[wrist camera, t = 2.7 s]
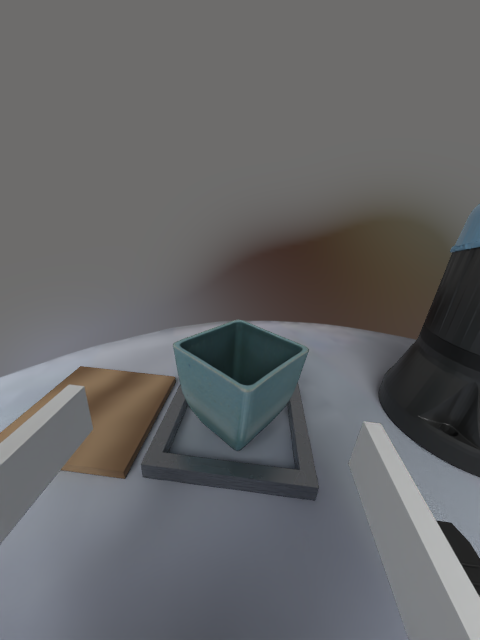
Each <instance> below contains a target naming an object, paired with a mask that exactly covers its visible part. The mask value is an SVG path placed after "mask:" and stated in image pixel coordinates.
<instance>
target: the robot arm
mask: <svg viewBox="0 0 480 640" xmlns="http://www.w3.org/2000/svg"><path fill="white" fill-rule="evenodd" d="M450 252H452V255H451V257H450V260H449V262H448V265H447V268H446V270H445V273H444V275H443V278H442V280H441V283H440V285H439V288H438V290H437V293H436V295H435V298H434V300H433V303H432V305H431V308H430V310H429V313H428V315H427V317H426V320H425V323H424V325H423V327H422V330H421V332H420V335H419V337H418V339H417V340H416V341H415V343H414V344H413V345H412V346H411V347H410V348H409V349H408V350H407V351H406V352H405V353H404V355H403V356H402V357H401V358H400V359H399V360H398V362H397V363H396V364H395V365H394V366H393V367H392V368H390V369H389V370H388V371H387V373H386V374H385V376H384V379H383V381H382V384H381V387H380V390H379V398H380V401H381V404H382V406H383V408H384V410H385V411H386V413H387V414H388V416H389V417H390V418H391V419H392V421H393V422H394V423H395V424H396V425H397V426H398V427H399V428H400V429H401V430H402V431H403V432H404V433H405V434H407V435H408V436H409V437H410V438H411V439H413V440H414V441H415V442H417V443H418V444H419V445H421V446H422V447H423V448H425V449H426V450H428V451H429V452H431V453H433V454H434V455H436V456H437V457H439V458H441V459H443V460H444V461H446V462H448V463H450V464H452V465H454V466H456V467H458V468H460V469H462V470H464V471H467V472H469V473H471V474H474V475H476V476H479V477H480V204H479V205H478V206H477V207H476V208H475V209H474V210H473V211H472V212H471V214H470V215H469V218H468V219H467V222H466V223H465V226H464V228H463V230H462V232H461V234H460V236H459V238H458V240H457V242H456V244H455V246H453V247H452V248H451V251H450ZM92 430H93V426H92V421H91V416H90V411H89V406H88V402H87V397H86V392H85V387H84V386H78V385H70V384H69V385H68V386H67V387H65V388H64V389H63V390H62V391H61V392H60V393H58V394H57V395H56V396H55V397H54V398H53V399H51V400H50V401H49V402H48V403H47V404H46V405H44V406H43V407H42V408H41V409H40V410H39V411H37V412H36V413H35V414H34V415H33V416H32V417H30V418H29V419H28V420H27V421H26V422H25V423H23V424H22V425H21V426H20V427H19V428H18V429H16V430H15V431H14V432H13V433H12V434H11V435H9V436H8V437H7V438H6V439H5V440H4V441H2V442H1V443H0V544H1V543H2V542H3V541H4V539H5V538H6V537H7V536H8V534H9V533H10V532H11V531H12V529H13V528H14V527H15V526H16V524H17V523H18V522H19V521H20V519H21V518H22V517H23V516H24V514H25V513H26V512H27V511H28V510H29V508H30V507H31V506H32V505H33V503H34V502H35V501H36V500H37V498H38V497H39V496H40V495H41V493H42V492H43V491H44V490H45V488H46V487H47V486H48V485H49V483H50V482H51V481H52V480H53V478H54V477H55V476H56V475H57V474H58V472H59V471H60V470H61V469H62V467H63V466H64V465H65V464H66V462H67V461H68V460H69V459H70V457H71V456H72V455H73V454H74V452H75V451H76V450H77V449H78V447H79V446H80V445H81V444H82V443H83V441H84V440H85V439H86V438H87V436H88V435H89V434H90V433H91V431H92ZM348 464H349V467H350V470H351V473H352V476H353V479H354V482H355V485H356V487H357V490H358V493H359V496H360V499H361V502H362V505H363V508H364V511H365V514H366V517H367V520H368V522H369V525H370V528H371V531H372V534H373V537H374V540H375V543H376V546H377V549H378V552H379V554H380V557H381V560H382V563H383V566H384V569H385V572H386V575H387V578H388V581H389V584H390V586H391V589H392V592H393V595H394V598H395V601H396V604H397V607H398V610H399V613H400V616H401V618H402V621H403V624H404V627H405V630H406V633H407V636H408V639H409V640H480V558H479V557H478V555H477V553H476V552H475V550H474V549H473V547H472V546H471V544H470V542H469V541H468V540H467V539H466V538H465V537H464V536H463V535H462V534H461V533H460V532H459V531H458V530H457V528H456V527H455V526H454V525H453V524H452V523H449V522H442V521H436V520H435V518H434V516H433V514H432V513H431V511H430V509H429V507H428V506H427V504H426V502H425V500H424V499H423V497H422V495H421V493H420V491H419V490H418V488H417V486H416V484H415V483H414V481H413V479H412V477H411V476H410V474H409V472H408V470H407V469H406V467H405V465H404V463H403V462H402V460H401V458H400V456H399V455H398V453H397V451H396V449H395V448H394V446H393V444H392V442H391V440H390V439H389V437H388V435H387V433H386V432H385V430H384V428H383V426H382V425H381V423H373V422H365V421H363V424H362V427H361V430H360V432H359V435H358V438H357V441H356V443H355V446H354V449H353V452H352V455H351V457H350V460H349V463H348Z"/></svg>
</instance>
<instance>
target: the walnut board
mask: <svg viewBox="0 0 480 640" xmlns="http://www.w3.org/2000/svg"><path fill="white" fill-rule="evenodd" d="M175 382H176V380H175V377H172V376H163V375H154V374H145V373H136V372H127V371H118V370H109V369H100V368H91V367H82V366H80V367H79V368H78V369H77V370H76V371H74V372H73V373H72V374H71V375H70V376H68V377H67V378H66V379H65V380H63V381H62V382H61V383H60V384H59V385H57V386H56V387H55V388H54V389H53V390H51V391H50V392H49V393H48V394H47V395H45V396H44V397H43V398H42V399H41V400H39V401H38V402H37V403H36V404H35V405H33V406H32V407H31V408H30V409H29V410H27V411H26V412H25V413H24V414H23V415H21V416H20V417H19V418H18V419H16V420H15V421H14V422H13V423H12V424H10V425H9V426H8V427H7V428H6V429H4V430H3V431H2V432H1V433H0V443H1V442H2V441H4V440H5V439H6V438H7V437H8V436H9V435H11V434H12V433H13V432H14V431H15V430H16V429H18V428H19V427H20V426H21V425H22V424H23V423H25V422H26V421H27V420H28V419H29V418H30V417H32V416H33V415H34V414H35V413H36V412H37V411H39V410H40V409H41V408H42V407H43V406H44V405H46V404H47V403H48V402H49V401H50V400H51V399H53V398H54V397H55V396H56V395H57V394H58V393H60V392H61V391H62V390H63V389H64V388H65V387H67V386H68V385H69V384H70V385H78V386H84V387H85V392H86V397H87V402H88V406H89V411H90V416H91V421H92V426H93V430H92V431H91V433H90V434H89V435H88V436H87V438H86V439H85V440H84V441H83V443H82V444H81V445H80V446H79V447H78V449H77V450H76V451H75V452H74V454H73V455H72V456H71V457H70V459H69V460H68V461H67V462H66V464H65V465H64V466H63V467H62V469H61V470H64V471H72V472H79V473H86V474H94V475H101V476H108V477H116V478H123V479H125V477H126V476H127V474H128V472H129V470H130V468H131V466H132V464H133V462H134V460H135V458H136V457H137V455H138V453H139V451H140V449H141V447H142V445H143V443H144V441H145V439H146V438H147V436H148V434H149V432H150V430H151V428H152V426H153V424H154V422H155V420H156V419H157V417H158V415H159V413H160V411H161V409H162V407H163V405H164V403H165V401H166V400H167V398H168V396H169V394H170V392H171V390H172V388H173V386H174V384H175Z"/></svg>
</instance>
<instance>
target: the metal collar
mask: <svg viewBox="0 0 480 640" xmlns="http://www.w3.org/2000/svg"><path fill="white" fill-rule="evenodd" d="M187 405H188V403H187V401H186V399H185V397H184V395H183V392H182V388H181V384H180V386H179V388H178V390H177V392H176V394H175V396H174V398H173V400H172V402H171V404H170V406H169V408H168V410H167V412H166V414H165V416H164V418H163V420H162V422H161V425H160V427H159V429H158V431H157V433H156V435H155V437H154V439H153V441H152V443H151V445H150V447H149V449H148V451H147V453H146V455H145V457H144V459H143V461H142V463H141V468H142V475H143V477H145V478H152V479H160V480H167V481H175V482H182V483H189V484H197V485H204V486H211V487H219V488H226V489H233V490H241V491H248V492H255V493H263V494H270V495H278V496H285V497H292V498H300V499H307V500H314V501H315V499H316V496H317V492H318V489H319V486H318V481H317V476H316V471H315V466H314V461H313V456H312V451H311V446H310V441H309V436H308V431H307V426H306V421H305V416H304V411H303V406H302V401H301V396H300V391H299V386H298V382H297V385H296V388H295V390H294V392H293V394H292V396H291V398H290V400H289V401H288V403H287V405H288V413H289V421H290V429H291V437H292V445H293V454H294V462H295V469H288V468H280V467H272V466H265V465H257V464H249V463H241V462H234V461H226V460H218V459H210V458H203V457H195V456H187V455H180V454H172V453H168V452H169V450H170V447H171V445H172V442H173V440H174V437H175V435H176V432H177V430H178V427H179V425H180V422H181V420H182V417H183V415H184V412H185V410H186V407H187Z"/></svg>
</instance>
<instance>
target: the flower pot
mask: <svg viewBox="0 0 480 640" xmlns="http://www.w3.org/2000/svg"><path fill="white" fill-rule="evenodd" d="M173 348H174V353H175V359H176V364H177V370H178V375H179V380H180V384H181V388H182V392H183V395H184V397H185V399H186V401H187V403H188V404H189V406H190V408H191V409H192V410H193V412H194V413H195V414H196V416H197V417H198V418H199V419H200V420H201V421H202V423H204V424H205V425H206V426H207V427H208V428H209V429H211V430H212V431H213V432H214V433H215V434H217V435H218V436H219V437H220V438H221V439H222V440H224V441H225V442H226V443H227V444H228V445H229V446H230V447H232V448H233V449H234V450H236V451H239V450H241V449H242V448H243V447H244V446H245V445H247V444H248V443H249V442H250V441H251V440H252V439H253V438H254V437H255V436H256V435H257V434H258V433H259V432H260V431H262V430H263V429H264V428H265V427H266V426H267V425H268V424H269V423H270V422H271V421H272V420H273V419H274V418H275V417H276V416H277V415H278V414H279V413H280V412H281V411H282V410H283V408H284V407H285V406H286V404H287V403H288V401H289V400H290V398H291V396H292V394H293V392H294V390H295V388H296V385H297V382H298V380H299V377H300V374H301V371H302V368H303V365H304V363H305V360H306V357H307V354H308V351H309V349H308V348H307V347H305V346H303V345H301V344H298V343H296V342H293V341H291V340H289V339H286V338H284V337H281V336H279V335H276V334H274V333H272V332H269V331H267V330H264V329H262V328H259V327H257V326H255V325H252V324H250V323H248V322H245V321H242V320H235V321H231V322H228V323H226V324H223V325H221V326H218V327H215V328H212V329H210V330H207V331H204V332H201V333H198V334H195V335H193V336H191V337H187V338H185V339H182V340H180V341H177V342H175V343H174V344H173Z"/></svg>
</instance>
